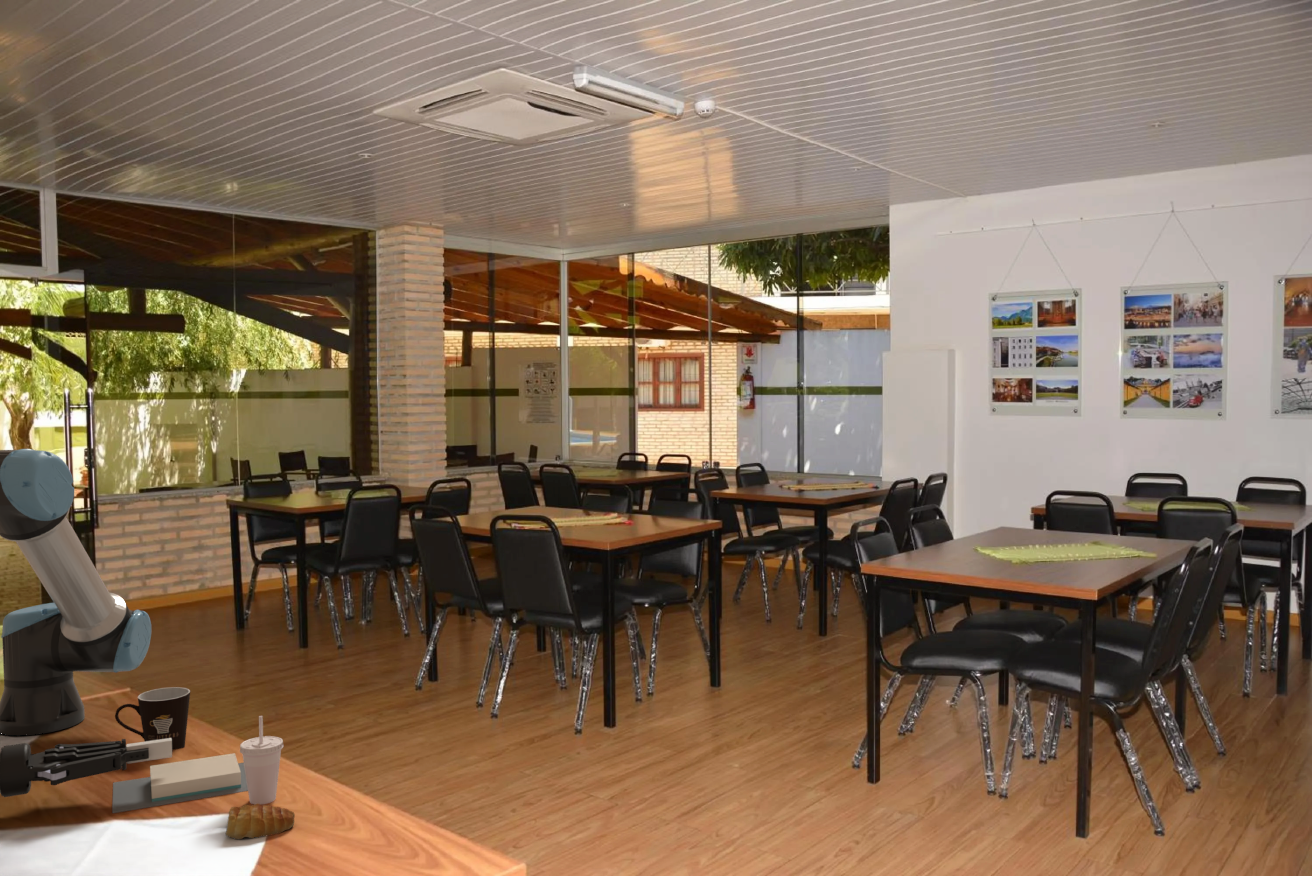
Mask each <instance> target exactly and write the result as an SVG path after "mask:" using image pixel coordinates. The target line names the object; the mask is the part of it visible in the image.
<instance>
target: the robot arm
mask: <svg viewBox="0 0 1312 876" xmlns="http://www.w3.org/2000/svg"><path fill="white" fill-rule="evenodd" d="M73 483H74V478H73V475H72V473H71V470H70V468H69V466H68V464H67V463H66V462H65V461H64V460H63V459H62V458H61V457H60V456H59V455H57V454H55V453H53V452H50V451H46V450H38V449H32V448H31V449H30V448H21V449H0V537H1V538H2V539H4V540H6V541H10V542H16V546H18V548H19V550H20V551H21V553H22V554H23V556H24V557H25V559H26V561H27V562H28V563H29V565H30V567H31V569H32V570H33V571H34V573H35V575H36V577H37V578H38V580H39V581H40V583H41V584H42V586H43V587H44V589H45V591H46V592H47V594H48V595H49V597H50V599H51V600H52V602H49V603H42V604H38V605H33V606H28V607H23V608H20V609H16V610H14V611H11V612H9V613H8V614H6V615H5V616H4V618H3V620H2V632H1V636H0V637H1V639H2V663H3V664H2V665H3V692H2V695H1V698H0V733H2V734H6V735H5V736H8V735H26V736H33V735H35V734H36V735H43V734H47V733H52V732H58V731H61V730H65V729H68V728H71V727H74V726H76V725H78V724H80V723H81V722H83V721H84V720H85V717H86V716H85V705H84V702H83V701H82V698H81V696H80V693H79V690H78V687H77V686H76V684H75V681H74V672H83V673H84V672H85V673H86V672H89V673H90V672H91V673H94V672H95V673H115V674H117V673H119V672H131V671H133V670H135V669H137V668H138V667H140V666H141V664H142V663H143V661H144V659H145V657H146V656H147V653H148V651H149V647H150V643H151V637H152V622H151V618H150V616H149V614H148V612H146V611H144V610H140V609H135V610H131V609H130V608H129V607H128V605H127V603H126V602H125V600H124V599H123V598H122V597H121V596H120V595H118V594H117V593H113V592H110V591H109V590H108V588H107V586H106V584H105V583H104V581H103V579H102V578H101V576H100V573H99V572H98V570H97V569H96V567H95V564H94V563H93V561H92V560H91V558H90V556H89V554H88V553H87V551H86V549H85V548H84V545H83V543H82V542H81V540H80V538H79V537H78V534H77V533H76V532H75V530H74V528H73V527H72V524H71V523H70V522H69V519H68V516H69V513H70V508H71V507H72V504H73V501H74V498H75V487H73V485H72V484H73ZM42 733H43V734H42ZM168 758H169V759H170V758H173V750H172V738H167V739H160V740H152V741H141V742H140V741H139V742H132V743H127V739H126V738H121V740H114V741H113V740H112V741H111V740H110V741H100V742H99V741H98V742H86V743H83V742H82V743H72V744H71V743H69V744H67V743H58V744H56V745H54V748H47V749H45V750H44V751H41V752H37V753H32V749H31V745H30V744H29V743H26V742H24V743H16V744H10V745H3V747H1V749H0V795H1V797H3V798H7V797H8V798H9V797H15V796H22V795H27V794H28V793H30V791H31V789H32V788H31V787H32V782H45V783H46V782H50V785H51V786H57V785H60V784H63V783H66V782H68V781H74V780H79V779H82V778H87V777H92V776H97V775H102V774H105V773H109V772H117V771H120V770H122V771H125V770H127V764H129V765H130V764H135V763H141V762H149V761H155V760H163V759H168Z"/></svg>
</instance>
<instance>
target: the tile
mask: <svg viewBox="0 0 1312 876" xmlns="http://www.w3.org/2000/svg"><path fill="white" fill-rule="evenodd" d="M238 763H239V762H238V759H237V756H236V753H234V752H233V753H228V754H222V755H220V754H219V755H214V756H208V757H200V758H193V759H187V760H179V761H174V762H166V763H160V764H154V765H150V766H149V769H150V770H149V775H150V776H149V777H150V782H151V797H152V802H155V801H161V800H167V799H173V798H179V797H185V796H191V795H197V794H204V793H210V792H216V791H222V790H228V789H234V788H240V787H241V771H240V768H239V765H238Z"/></svg>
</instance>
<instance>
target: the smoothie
mask: <svg viewBox="0 0 1312 876" xmlns="http://www.w3.org/2000/svg"><path fill="white" fill-rule="evenodd" d="M263 718H264V716H263V715H259V716H258V737H257V736H256V737H253V738H249V739H246V740H244V741H243V742H241V743H240V744H239V752H240V754H241V755H242V759H243V760H242V762H243V763H244V768H245V774H246V781H247V787H248V791H247V792H248V800H249V803H250V804H251V805H255V804H260V805H267V804H271V803H273V802H275V800H276V798H277V791H278V781H279V773H280V762H281V754H282V753H281V751H282V749H283V748H284V741H283V738H281V737H278V736H273V735H272V736H271V735H265V736H264V722H263V721H264V719H263Z"/></svg>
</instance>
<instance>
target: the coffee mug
mask: <svg viewBox="0 0 1312 876" xmlns="http://www.w3.org/2000/svg"><path fill="white" fill-rule="evenodd" d="M190 698H191V690H190V689H189V688H187V687H179V686H177V687H176V686H175V687H174V686H173V687H161V688H155V689H151V690H148V691H144V692H142V693H140V694H139V695H138V696H137V702H138V705H136V704H133V703H125V704H123V705H120V706H119V707H118V708H117V709H116V710H115V715H114V717H115V721H116V722H117V723H118V724H119V726H121V727H122V728H124V729H126V730H128V731H130V732H132V733H133V734H136V735H138V736H140V737H142V739H143V742H145V741H152V740H160V739H167V738H172V751H174V750H180V749H184V748H185V747H186V737H187V729H188V728H187V727H188V718H189V706H190ZM126 708H130V709H131V708H132V709H133V710H135V711H136V713H137V714H138V715H139V716H140V721H141V727H142V731H140V730H138V729H136V728H133V727H131V726H130V725H126V723H124V722H123V721H122V720H121V719H120V717H119V713H120V712H121V711H122V710H124V709H126Z"/></svg>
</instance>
